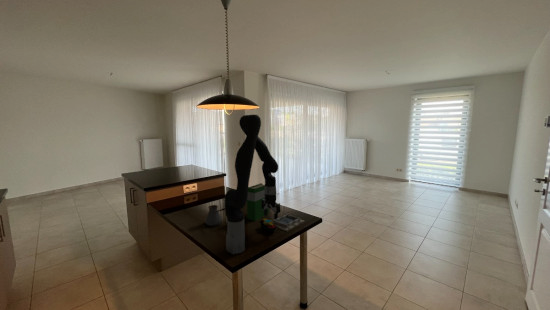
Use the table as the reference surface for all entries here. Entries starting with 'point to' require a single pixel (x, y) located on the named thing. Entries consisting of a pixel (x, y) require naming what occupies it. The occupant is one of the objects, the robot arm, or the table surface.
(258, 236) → the table surface
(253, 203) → the hardback book
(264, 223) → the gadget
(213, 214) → the coffee pot
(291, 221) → the window
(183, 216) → the table surface
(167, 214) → the table surface
